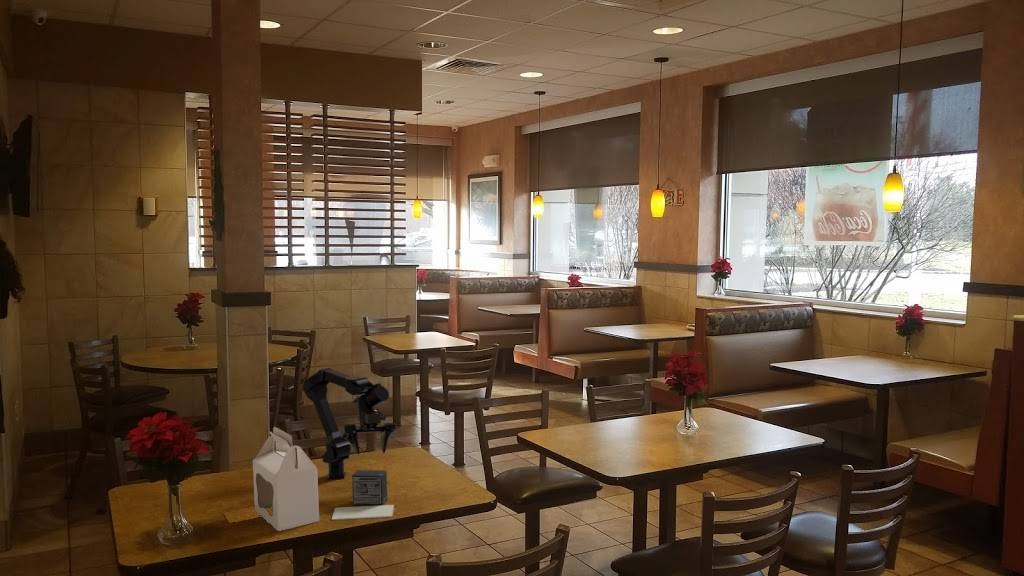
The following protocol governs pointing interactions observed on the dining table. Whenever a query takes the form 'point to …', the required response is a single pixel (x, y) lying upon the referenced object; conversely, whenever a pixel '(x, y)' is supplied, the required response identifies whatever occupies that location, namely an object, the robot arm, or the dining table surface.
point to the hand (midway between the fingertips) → (371, 453)
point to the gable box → (285, 483)
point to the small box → (369, 487)
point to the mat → (363, 512)
